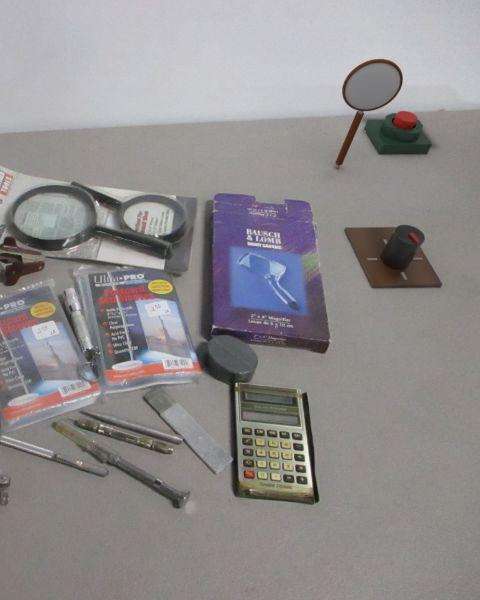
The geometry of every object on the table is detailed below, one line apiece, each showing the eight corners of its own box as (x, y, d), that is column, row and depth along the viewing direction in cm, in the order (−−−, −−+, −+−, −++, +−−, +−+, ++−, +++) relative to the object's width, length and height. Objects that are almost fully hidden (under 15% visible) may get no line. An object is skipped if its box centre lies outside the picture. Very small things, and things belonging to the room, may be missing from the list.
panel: (401, 238, 93) (409, 225, 91) (434, 296, 86) (443, 283, 83) (339, 239, 93) (345, 226, 91) (366, 297, 85) (373, 284, 83)
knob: (375, 251, 88) (390, 225, 84) (399, 247, 88) (415, 221, 84) (390, 271, 85) (406, 244, 81) (414, 266, 86) (432, 240, 82)
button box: (409, 129, 113) (418, 110, 110) (426, 154, 108) (437, 135, 105) (363, 129, 113) (371, 110, 110) (378, 154, 108) (387, 135, 105)
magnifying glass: (312, 168, 105) (354, 59, 90) (311, 162, 106) (353, 54, 91) (362, 173, 104) (414, 65, 89) (361, 167, 105) (411, 59, 90)
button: (408, 119, 109) (412, 110, 108) (416, 130, 107) (421, 121, 105) (389, 119, 109) (393, 110, 108) (397, 130, 107) (401, 121, 105)
